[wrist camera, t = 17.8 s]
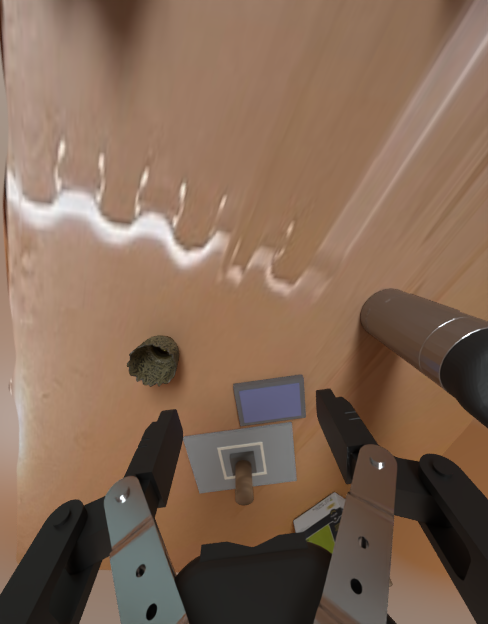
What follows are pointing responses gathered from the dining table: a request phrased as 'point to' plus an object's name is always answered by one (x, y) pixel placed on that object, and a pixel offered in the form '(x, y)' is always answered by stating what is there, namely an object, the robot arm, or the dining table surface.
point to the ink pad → (270, 400)
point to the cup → (154, 361)
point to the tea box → (323, 522)
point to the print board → (262, 440)
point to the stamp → (243, 476)
